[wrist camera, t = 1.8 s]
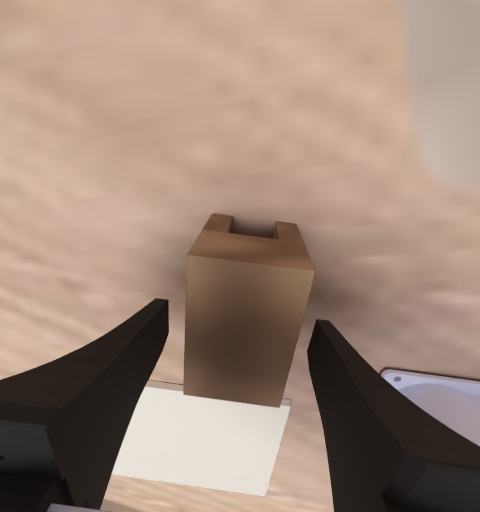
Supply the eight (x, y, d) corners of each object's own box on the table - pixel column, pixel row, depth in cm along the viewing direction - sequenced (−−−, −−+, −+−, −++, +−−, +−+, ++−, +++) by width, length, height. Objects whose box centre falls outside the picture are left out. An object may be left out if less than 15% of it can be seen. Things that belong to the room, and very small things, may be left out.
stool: (295, 224, 16) (315, 271, 10) (273, 329, 19) (279, 408, 13) (212, 213, 16) (187, 254, 10) (205, 320, 19) (183, 394, 14)
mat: (289, 399, 22) (290, 406, 21) (264, 489, 28) (264, 496, 27) (77, 370, 22) (72, 376, 22) (96, 465, 28) (93, 471, 27)
